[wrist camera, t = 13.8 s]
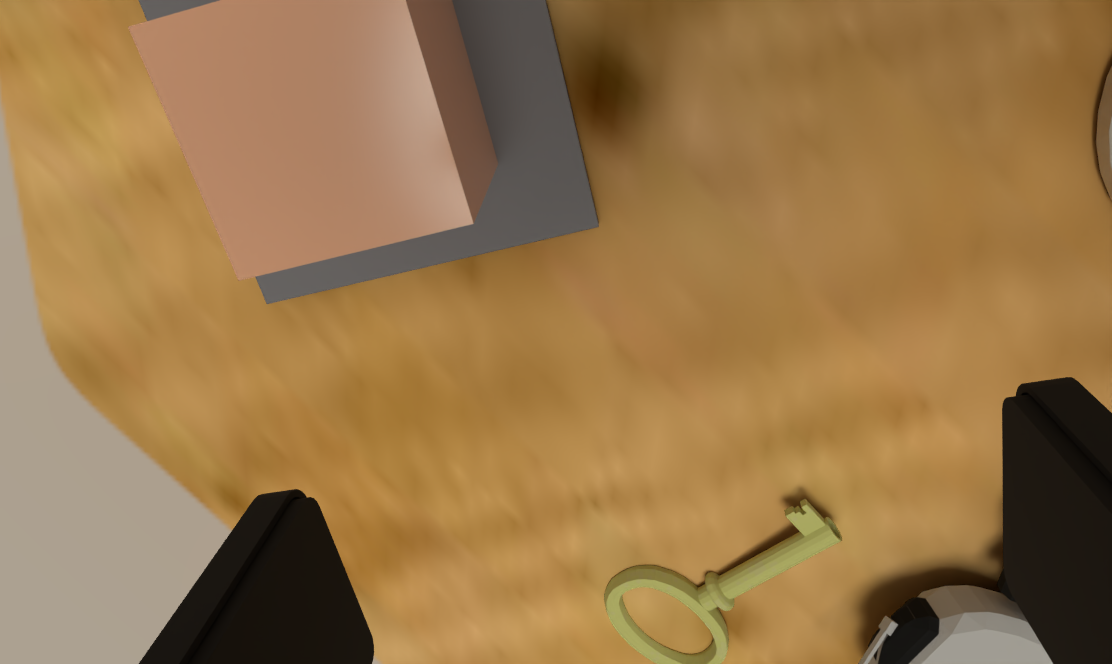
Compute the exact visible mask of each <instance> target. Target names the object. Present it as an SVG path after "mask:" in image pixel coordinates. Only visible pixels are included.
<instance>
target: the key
mask: <svg viewBox="0 0 1112 664" xmlns="http://www.w3.org/2000/svg"><path fill="white" fill-rule="evenodd" d="M800 504H801V507H802V509H800V508H799V506H797V507H795V508H794V507H793V506H791V507H789V508H788V509H786V510H784V511H785V515H786V517H787V518H788V519H789V520H790V521H791V522H792V523H793V524H794V525H795V527H796V528H797V529H798V530H799V531H800V532H798V533H796V534H795V535H793V536H791V537H789V538H787V539H785V540H784V541H782V542H780V543H778V544H776V545H775V546H773V547H771V548H769V549H767V550H766V551H764V552H762V553H760V554H758V555H756V556H755V557H753V558H751V559H749V560H747V561H746V562H744V563H742V564H740V565H738V566H736V567H735V568H733V569H731V570H729V571H727V572H726V573H724V574H722V575H718V574H717V573H715V572H709V573H708V574H707V575H706V576H705V584H704V585H702V586H700V587H697V586H696V585H695V584H693V583H692V582H690V581H689V580H688V579H686V578H685V577H683V576H682V575H680V574H678V573H676V572H674V571H672V570H668V569H665V568H662V567H658V566H653V565H642V566H635V567H631V568H628V569H626V570H624V571H622V572H620V573H619V574H617V575H616V576H615V577H613V578H612V579H611V581H610V582H609V584H608V585H607V588H606V591H605V594H604V602H605V607H606V611H607V613H608V616H609V618H610V621H611V623H612V625H613V626H614V628H615V629H616V630H617V632H618V633H619V634H620V635H621V636H622V637H623V638H624V639H625V640H626V642H627V643H628V644H629V645H631V646H632V647H633V648H634V649H636V650H637V651H638V652H639V653H641V654H642V655H644V656H645V657H646V658H648V659H650V660H651V661H653V662H655V663H657V664H721V663H722V662H723V661H724V659H725V657H726V654H727V650H728V642H729V638H728V632H727V627H726V624H725V621H724V619H723V617H722V615H721V613H720V611H719V610H718V608H717V607H719V608H720V609H722V610H724V611H729V610H731V609H732V608H733V607H734V598H735V597H737V596H739V595H741V594H743V593H745V592H746V591H748V590H750V589H752V588H754V587H756V586H758V585H759V584H761V583H763V582H765V581H767V580H769V579H771V578H773V577H774V576H776V575H778V574H780V573H782V572H784V571H786V570H788V569H789V568H791V567H793V566H795V565H797V564H799V563H801V562H803V561H804V560H806V559H808V558H810V557H812V556H814V555H816V554H818V553H819V552H821V551H823V550H825V549H827V548H829V547H831V546H833V545H834V544H836V543H838V542H840V541H842V537H841V534H840V532H839V530H838V528H837V527H836V525H835V524H834V522H833V521H832V520H831V519H830V518H829V517H825V518H823V517H822V516H821V515H820V514H819V513H818V512H817V511H816V510H815V509H814V508H813V507H812V505H811V504H810V503H809V502H808V501H807V500H806V499H803V500H802V501H800ZM638 587H648V588H654V589H657V590H659V591H662V592H665V593H667V594H669V595H671V596H673V597H675V598H677V599H678V600H679V601H681V602H682V603H683V604H685V605H686V606H688V607H689V608H690V609H691V610H692V611H693V612H694V613H696V614H697V615H698V617H699V618H700V619H701V620H702V621H703V622H704V623H705V625H706V626H707V627H708V628H709V630H710V631H711V633H712V635H713V638H714V640H713V642H712V644H711V645H710V646H709V647H708V648H707V649H706V650H704V651H703V652H700V653H696V654H684V653H681V652H678V651H675V650H672V649H669V648H667V647H664V646H663V645H661V644H659V643H658V642H656V641H654V640H653V639H651V638H650V637H649V636H647V635H646V634H645V633H644V632H643V631H642V630H641V629H640V628H639V627H638V626H637V625H636V624H635V623H634V621H633V620H632V619H631V617H630V616H629V614H628V612H627V610H626V608H625V605H624V603H623V599H622V594H624V593H625V592H626V591H628V590H631V589H634V588H638Z"/></svg>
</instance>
